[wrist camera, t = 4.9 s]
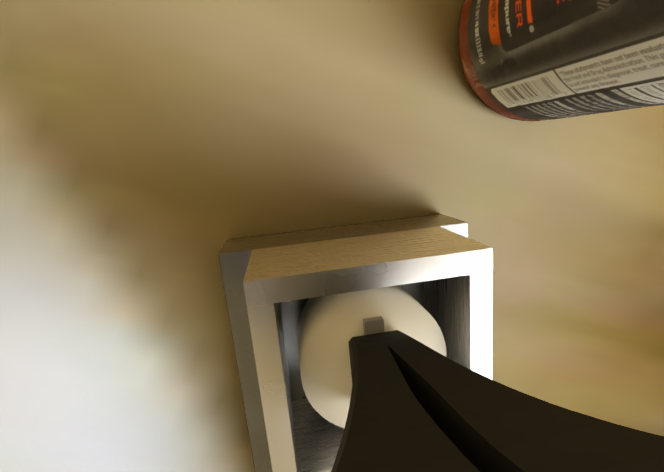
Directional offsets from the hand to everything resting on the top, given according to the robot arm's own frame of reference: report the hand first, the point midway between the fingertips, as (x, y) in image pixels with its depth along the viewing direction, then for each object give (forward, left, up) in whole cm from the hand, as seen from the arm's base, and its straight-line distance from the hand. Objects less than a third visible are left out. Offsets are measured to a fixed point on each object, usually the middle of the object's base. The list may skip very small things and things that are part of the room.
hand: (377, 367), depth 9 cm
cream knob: (0, 0, -2) cm, 2 cm away
